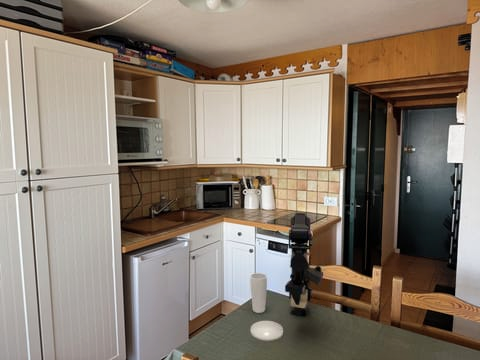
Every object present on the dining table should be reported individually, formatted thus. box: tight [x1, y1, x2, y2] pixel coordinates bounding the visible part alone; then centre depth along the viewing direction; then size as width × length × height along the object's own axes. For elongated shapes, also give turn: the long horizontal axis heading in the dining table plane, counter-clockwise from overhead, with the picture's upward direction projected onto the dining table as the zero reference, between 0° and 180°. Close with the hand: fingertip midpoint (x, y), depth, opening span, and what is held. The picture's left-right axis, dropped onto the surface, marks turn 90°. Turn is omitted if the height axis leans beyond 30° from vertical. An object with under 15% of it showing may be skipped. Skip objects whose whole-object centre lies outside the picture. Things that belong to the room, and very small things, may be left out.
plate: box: [250, 320, 284, 342], centre depth 126 cm, size 12×12×1 cm
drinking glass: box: [249, 272, 268, 314], centre depth 141 cm, size 7×7×15 cm
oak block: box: [290, 289, 308, 308], centre depth 125 cm, size 5×5×5 cm
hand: (299, 301), depth 126 cm, fingers closed on oak block, 5 cm apart
